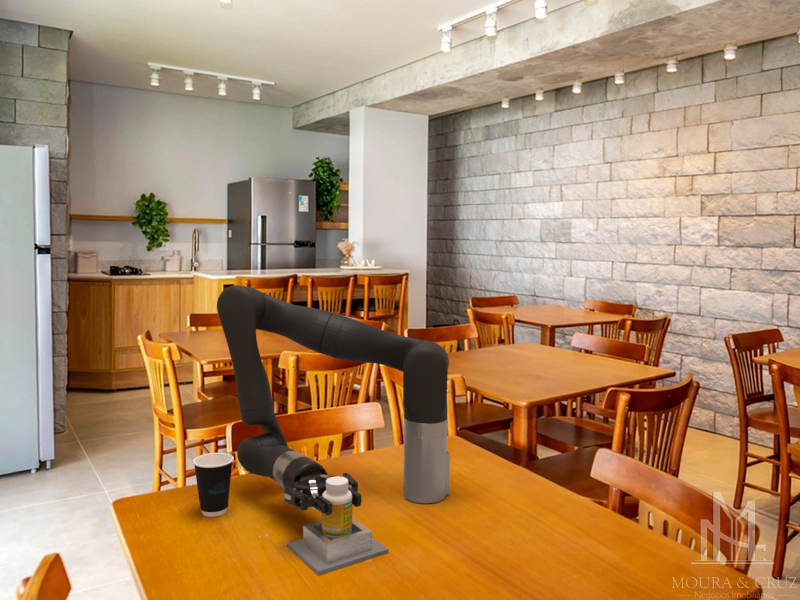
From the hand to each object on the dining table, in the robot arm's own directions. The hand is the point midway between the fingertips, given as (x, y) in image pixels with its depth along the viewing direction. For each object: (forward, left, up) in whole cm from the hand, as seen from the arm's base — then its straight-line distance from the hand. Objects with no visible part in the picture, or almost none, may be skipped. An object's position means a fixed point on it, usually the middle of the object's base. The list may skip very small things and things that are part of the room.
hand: (344, 505), depth 115 cm
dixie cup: (+12, -30, -9) cm, 34 cm away
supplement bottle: (0, -3, -6) cm, 7 cm away
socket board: (0, -2, -10) cm, 10 cm away
